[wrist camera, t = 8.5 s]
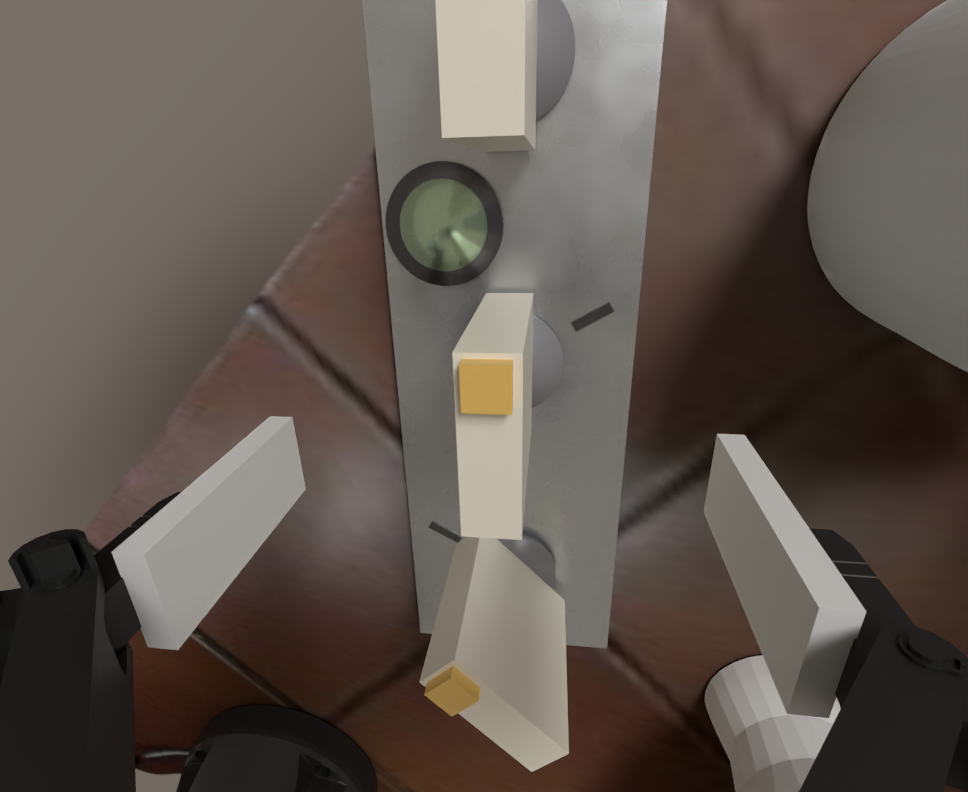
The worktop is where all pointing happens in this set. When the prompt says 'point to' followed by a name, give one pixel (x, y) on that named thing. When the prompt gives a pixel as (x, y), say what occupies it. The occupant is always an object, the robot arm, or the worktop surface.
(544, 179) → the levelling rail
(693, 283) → the worktop surface
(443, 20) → the cream slab
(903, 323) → the utensil holder
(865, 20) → the worktop surface
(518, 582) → the slab with yellow pad
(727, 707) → the cup
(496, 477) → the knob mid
